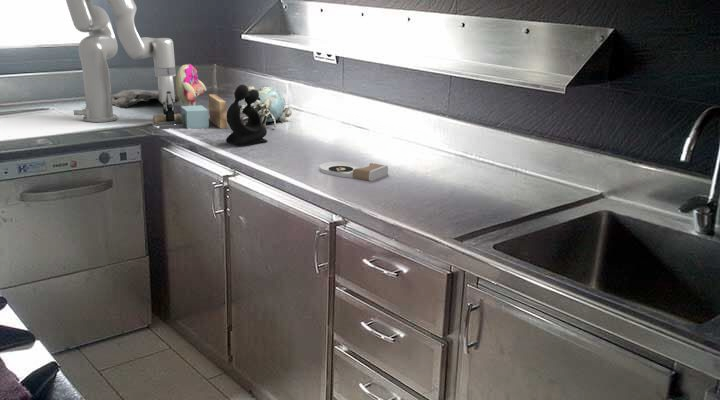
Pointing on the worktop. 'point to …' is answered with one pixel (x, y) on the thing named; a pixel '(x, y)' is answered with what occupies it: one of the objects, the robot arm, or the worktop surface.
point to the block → (195, 116)
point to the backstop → (217, 111)
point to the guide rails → (170, 125)
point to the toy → (188, 85)
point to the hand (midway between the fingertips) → (169, 119)
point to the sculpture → (269, 105)
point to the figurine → (254, 126)
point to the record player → (354, 170)
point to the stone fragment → (134, 97)
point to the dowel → (163, 118)
